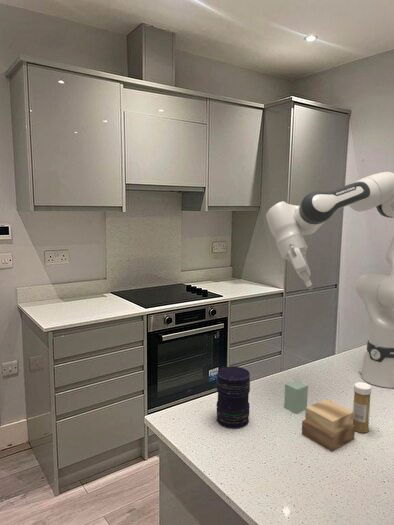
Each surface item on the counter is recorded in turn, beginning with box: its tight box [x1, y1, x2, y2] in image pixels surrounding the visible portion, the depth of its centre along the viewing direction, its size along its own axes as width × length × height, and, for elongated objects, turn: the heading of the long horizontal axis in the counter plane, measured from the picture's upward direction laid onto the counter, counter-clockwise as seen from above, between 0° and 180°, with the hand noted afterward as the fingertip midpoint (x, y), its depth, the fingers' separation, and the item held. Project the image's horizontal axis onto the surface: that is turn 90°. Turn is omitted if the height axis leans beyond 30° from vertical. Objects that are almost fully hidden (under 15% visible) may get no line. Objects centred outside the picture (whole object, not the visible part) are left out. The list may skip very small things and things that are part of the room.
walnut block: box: [301, 419, 356, 452], centre depth 113 cm, size 10×10×4 cm
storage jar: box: [216, 366, 251, 430], centre depth 121 cm, size 10×10×15 cm
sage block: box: [283, 379, 309, 415], centre depth 128 cm, size 5×5×8 cm
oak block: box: [304, 398, 354, 436], centre depth 112 cm, size 9×9×4 cm
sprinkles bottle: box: [352, 381, 372, 434], centre depth 116 cm, size 5×5×14 cm
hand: (310, 287), depth 129 cm, fingers open, 8 cm apart
